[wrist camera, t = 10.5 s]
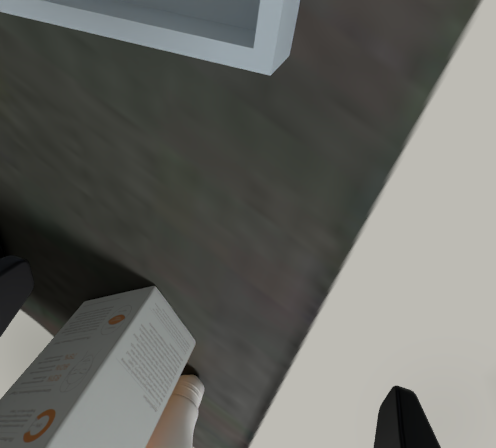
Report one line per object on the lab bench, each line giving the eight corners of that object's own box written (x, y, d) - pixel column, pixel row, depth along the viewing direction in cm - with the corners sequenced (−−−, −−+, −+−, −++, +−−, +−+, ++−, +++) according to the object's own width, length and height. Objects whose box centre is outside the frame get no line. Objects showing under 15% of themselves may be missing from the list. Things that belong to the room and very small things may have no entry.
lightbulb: (148, 362, 35) (69, 497, 27) (193, 345, 32) (119, 493, 23) (194, 404, 37) (134, 544, 28) (242, 392, 34) (189, 546, 25)
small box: (127, 351, 36) (18, 517, 25) (83, 299, 33) (-57, 459, 23) (200, 343, 32) (107, 533, 21) (156, 282, 29) (28, 466, 19)
